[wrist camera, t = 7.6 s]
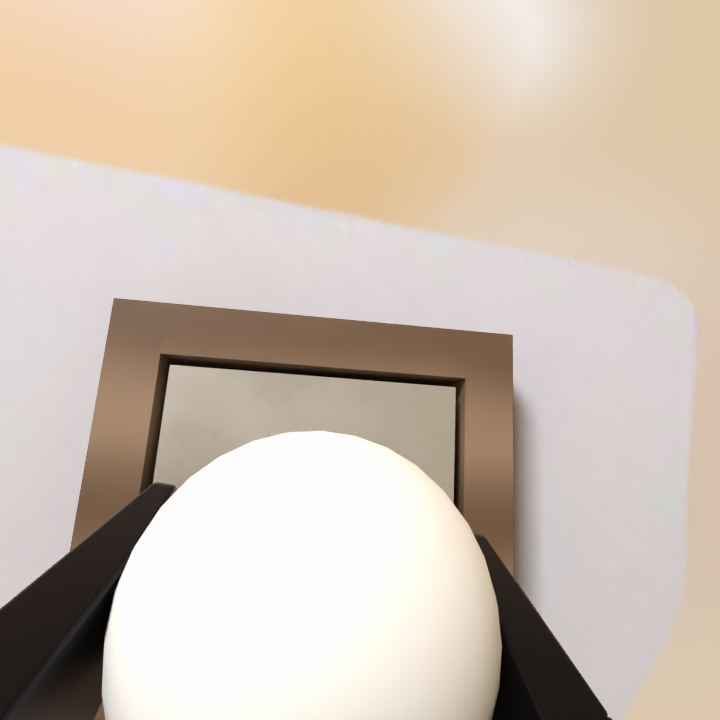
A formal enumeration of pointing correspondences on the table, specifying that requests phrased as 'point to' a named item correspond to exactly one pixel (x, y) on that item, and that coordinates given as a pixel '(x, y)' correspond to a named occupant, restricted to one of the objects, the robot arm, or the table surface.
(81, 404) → the table surface
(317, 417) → the platform
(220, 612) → the lightbulb
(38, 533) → the table surface
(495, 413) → the brown picture frame
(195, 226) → the table surface
